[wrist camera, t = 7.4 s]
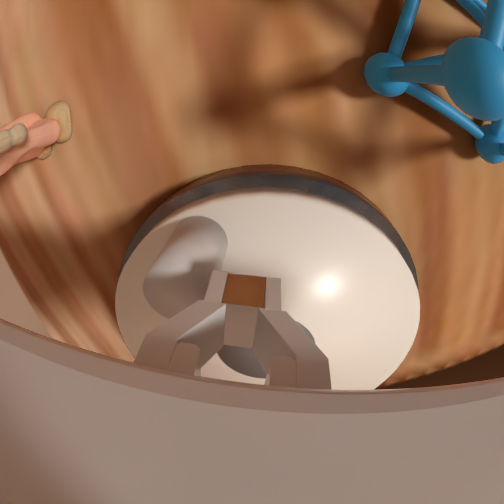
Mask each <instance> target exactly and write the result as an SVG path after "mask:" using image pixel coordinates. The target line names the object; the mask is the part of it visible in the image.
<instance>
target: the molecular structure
mask: <svg viewBox="0 0 504 504" xmlns="http://www.w3.org/2000/svg"><path fill="white" fill-rule="evenodd" d="M420 1H421V0H405V2H404V5H403V8H402V12H401V14H400V17H399V20H398V23H397V26H396V29H395V32H394V35H393V38H392V41H391V43H390V46H389V49H388V52H387V53H386V52H381V53H376V54H374V55H373V56H371V57H370V58H369V59H368V60H367V62H366V64H365V66H364V77H365V80H366V83H367V84H368V86H369V87H370V88H371V89H372V90H373V91H374V92H376V93H377V94H379V95H381V96H384V97H395V96H399V95H401V94H403V93H404V92H406V93H408V94H410V95H412V96H413V97H415V98H417V99H418V100H420V101H422V102H423V103H425V104H427V105H428V106H430V107H432V108H433V109H435V110H436V111H438V112H439V113H441V114H443V115H444V116H446V117H447V118H449V119H450V120H451V121H453V122H454V123H456V124H457V125H459V126H460V127H462V128H463V129H464V130H466V131H467V132H468V133H470V134H471V135H472V136H474V137H475V146H476V149H477V152H478V154H479V155H480V156H481V158H483V159H484V160H485V161H487V162H489V163H492V164H495V163H500V162H502V161H503V160H504V0H488V2H487V4H486V3H485V2H484V1H483V0H456V1H457V2H458V3H459V4H460V5H461V6H462V7H463V8H464V9H465V10H466V11H467V12H468V13H469V14H470V15H471V16H472V17H473V18H474V19H475V20H476V21H477V23H478V24H479V25H480V26H481V27H482V29H481V33H480V36H479V38H478V37H463V38H461V39H458V40H456V41H454V42H453V43H452V44H451V45H450V46H449V47H448V48H447V49H446V51H445V53H444V54H443V55H437V56H432V57H427V58H423V59H418V60H414V61H409V62H404V61H403V60H402V59H401V57H402V55H403V52H404V49H405V46H406V43H407V40H408V37H409V35H410V32H411V29H412V26H413V23H414V20H415V16H416V13H417V10H418V7H419V4H420ZM417 83H420V84H431V85H441V86H444V87H445V89H446V91H447V92H448V94H449V96H450V98H451V99H452V100H453V102H454V103H455V104H456V105H457V106H458V107H459V108H460V109H461V110H462V111H464V112H465V113H466V114H468V115H470V116H472V117H474V118H476V119H479V120H484V121H492V123H491V124H486V125H484V126H482V127H479V126H478V125H477V124H476V123H474V122H473V121H472V120H470V119H469V118H468V117H466V116H465V115H464V114H462V113H461V112H460V111H458V110H457V109H455V108H454V107H452V106H451V105H450V104H448V103H447V102H445V101H444V100H442V99H441V98H439V97H438V96H436V95H434V94H433V93H431V92H430V91H428V90H427V89H425V88H423V87H422V86H420V85H418V84H417Z"/></svg>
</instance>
